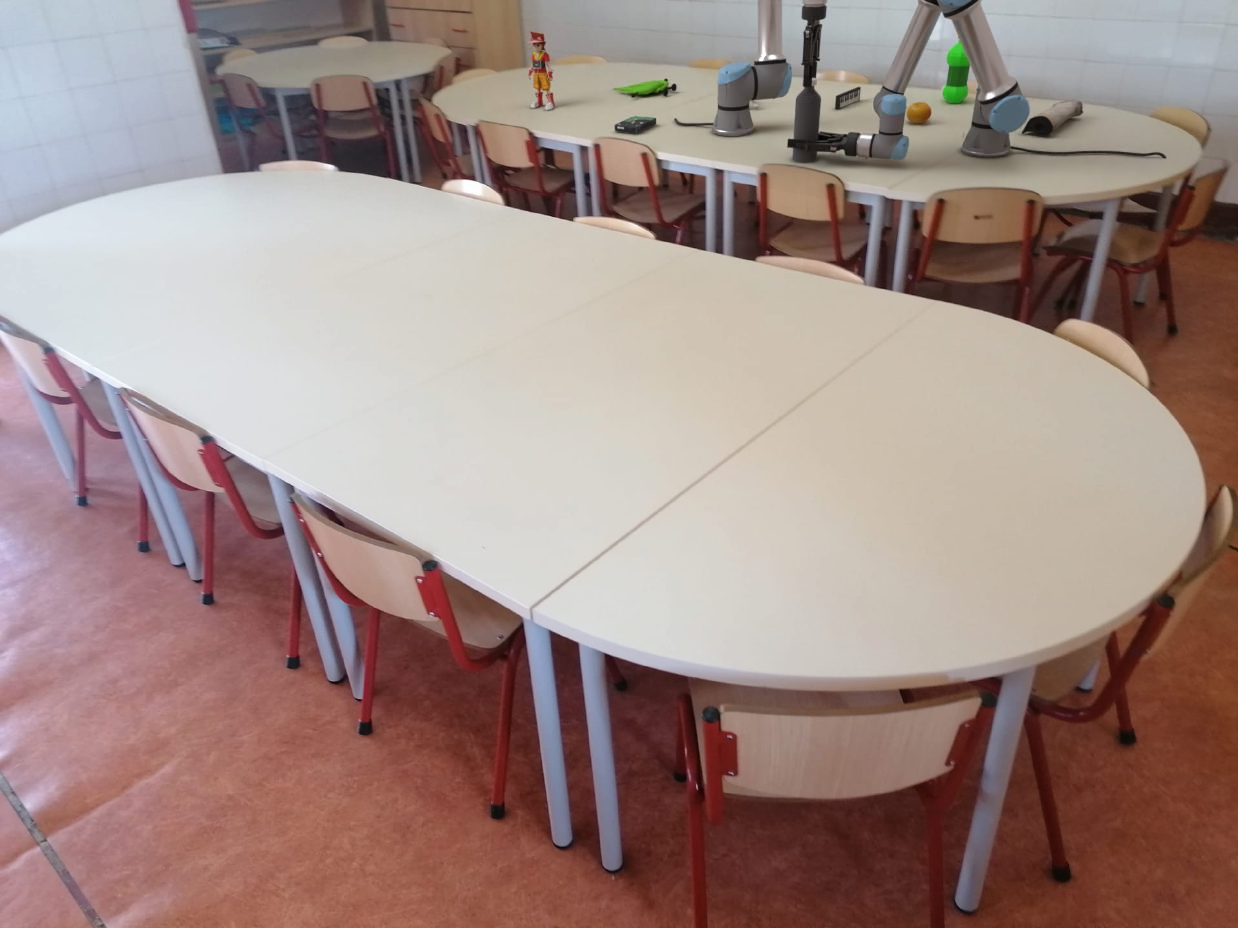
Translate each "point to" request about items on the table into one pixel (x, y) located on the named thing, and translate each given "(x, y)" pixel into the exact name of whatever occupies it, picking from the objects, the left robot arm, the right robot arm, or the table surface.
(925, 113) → the fruit
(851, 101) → the midi keyboard
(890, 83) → the right robot arm
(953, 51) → the plastic bottle
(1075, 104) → the rolled mat
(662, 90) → the toy
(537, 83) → the toy
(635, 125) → the disk drive
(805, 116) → the bottle
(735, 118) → the left robot arm
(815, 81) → the cap
